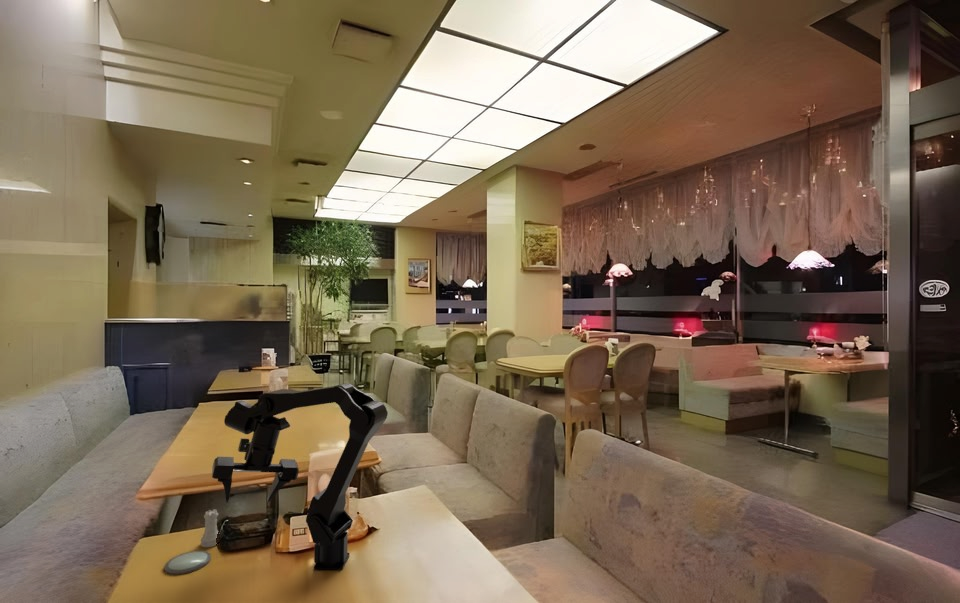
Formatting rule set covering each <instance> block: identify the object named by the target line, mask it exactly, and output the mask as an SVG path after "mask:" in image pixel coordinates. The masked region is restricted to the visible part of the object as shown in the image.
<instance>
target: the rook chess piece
mask: <svg viewBox="0 0 960 603" xmlns="http://www.w3.org/2000/svg"><path fill="white" fill-rule="evenodd" d="M218 516H219V513H218V510H217V509H212V510H211V509H208V511H207V510H206V511H205V513H204V515H203V518H204V519H205V520H204V524H205V526H204V533H203V534H202V536H201V537H200V547H202V548H204V549H206V548H209V549H210V548H213V547H215V546H217V545H218V544H217V543H216V538H217V534H218V532H219V530H218V526H217V525H218V524H217V523H218V519H217V518H218ZM216 544H217V545H216Z"/></svg>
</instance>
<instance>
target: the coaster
mask: <svg viewBox="0 0 960 603" xmlns="http://www.w3.org/2000/svg"><path fill="white" fill-rule="evenodd" d="M211 558H212V555H211V553H210V552H209V551H207V550H193V551H189V552H185V553H181V554H178V555H176V556H173V557H172V558H171V559H169V560H168V561H167V562H166V563H165V564H164V572H165V573H166V574H168V575H172V576H173V575H174V576H175V575H185V574H189V573H192V572H195V571H198V570H200V569H202V568H203V567H205V566H207V565H209V563H210V561H211Z"/></svg>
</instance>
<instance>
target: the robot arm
mask: <svg viewBox="0 0 960 603" xmlns="http://www.w3.org/2000/svg"><path fill="white" fill-rule="evenodd" d="M333 403H335V404H336V405H338V406H339V408H340V410H341V412H342V413H343V415H344V416H345V417H346V418H347V419H348V420H350V421H349V425H348V433H349V434H348V436H349V437H348V439H347V442H346V445H345V447H344V449H343V450H342V453H341V455H340V458H339V460H338V462H337V464H336V466H335V468H334V471H333V473H332V475H331V478H330V479H329V482H328V484H327V486H326V488H324V489H322V490H321V491H320V492H318V493H316V494H315V495H314V496H312V498H311V500H310V504H309V505H308V508H307V510H306V511H304V513H305V514H306V517H305V523H306V525H307V527H308V530H309V533H310V536H311V539H312V543H314V547H313V550H314V555H313V560H314V563H315V565H314V566H313V570H315V571H318V570H319V571H322V570H323V571H325V570H326V571H327V570H328V571H329V570H330V571H331V570H335V571H336V570H343V569H344V567H345V565H346V563H347V562H348V559H349V557H350V552H348V538H349V536H348V533H349V532H348V531H349V530H350V529H351V528H352V524H353V523H354V519H352V518H351V516H350V515H349V513H347V511H346V510H345V507H346V503H347V500H346V493H347V491H348V489H349V486H350V484H351V482H352V480H353V478H354V475H355V473H356V471H357V469H358V467H359V465H360V462H361V461H362V457H363V455H364V453H365V451H366V448H367V447H368V445H369V442H370V441H371V440H372V438H373V437H374V436H375V435H376V434H377V433H378V431H380V429H381V428H382V426H383V425H384V423H385V421H386V420H387V418H388V416H389V415H388V410H387V407H386V405H385V404H384V403H383V402H381V401H379V400H376V399H374V398H373V397H372V396H371V395H370V394H367V393H366V392H363V391H361V390H359V389H357V388H356V387H355V386H354V385H353V384H351V383H348V382H345V383H341V384H337V385H329V386H326V387H318V388H312V389H304V390H296V389H284V388H283V389H282V388H281V389H280V388H279V389H277V390H276V389H275V390H273V391H268V392H264V393H262V394H260V395H259V398H257V402H256V403H255V404H253V405H252V404H249V403H248V402H246V401H245V400H242V399H241V400H237V401H235V402H234V406H232V407H231V408H230V409H229V410H228V412H227V413H226V415H225V417H224V420H223V421H224V425H225V427H228V428H230V429H232V430H235V431H238V432H239V433H241V434H244V435H250V434H251V433H252V437H251V440H250V439H249V438H243V437H242V438H240V441H239V444H238V448H237V451H238V452H240V453H244V457H243V459H244V461H245V462H234V459H235V458H234V456H217V457H216V458H215V459H214V460H213V463H212V472H211V473H212V474H211V478H212V479H215V480H217V482H219V483H222V486H223V489H224V494H225V495H224V496H225V503H229V500H230V497H231V491H232V490H231V489H232V484H233V473H234V472H235V473H237V472H238V473H245V472H246V473H275V474H274V478H273V481H272V484H271V486H270V489H269V492H268V495H267V499H266V502H267V503H270V502H271V500H272V499H273V498H274V496H276V494H277V493H278V492H279V491H280V490H281V489H282V488H283V487H284V486H285V485H286V484H289V483H291V481H295V480H297V479H298V475H299V473H300V472H299V466H298V463H297V461H296V459H292V458H291V459H290V458H281V459H280V460H279V462H278V463H272V462H273V457H274V455H275V452H276V447H277V443H278V440H279V436H280V434H281V432H280V431H283V430H285V429H288V428H290V427H291V425H290V423H289V421H288V420H287V419H286V417H284V416H283V417H281V418H279V417H276V416H277V415H280V414H283V413H287V412H290V411H292V410H294V409H298V408H305V407H306V408H307V407H311V406H312V407H313V406H318V405H319V406H320V405H326V404H327V405H328V404H333Z"/></svg>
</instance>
